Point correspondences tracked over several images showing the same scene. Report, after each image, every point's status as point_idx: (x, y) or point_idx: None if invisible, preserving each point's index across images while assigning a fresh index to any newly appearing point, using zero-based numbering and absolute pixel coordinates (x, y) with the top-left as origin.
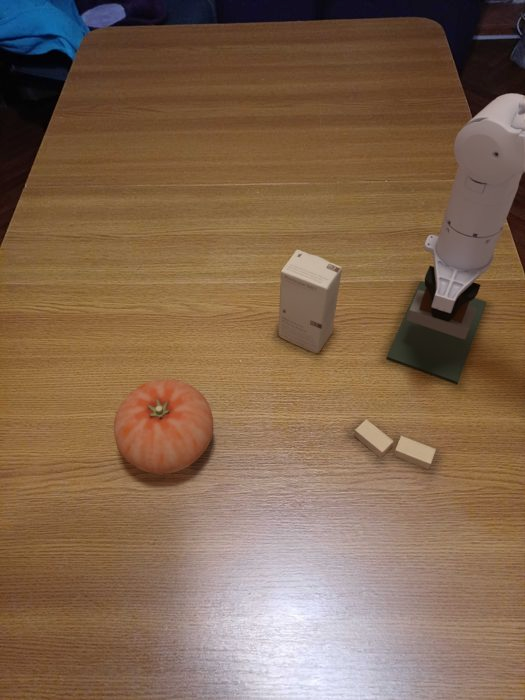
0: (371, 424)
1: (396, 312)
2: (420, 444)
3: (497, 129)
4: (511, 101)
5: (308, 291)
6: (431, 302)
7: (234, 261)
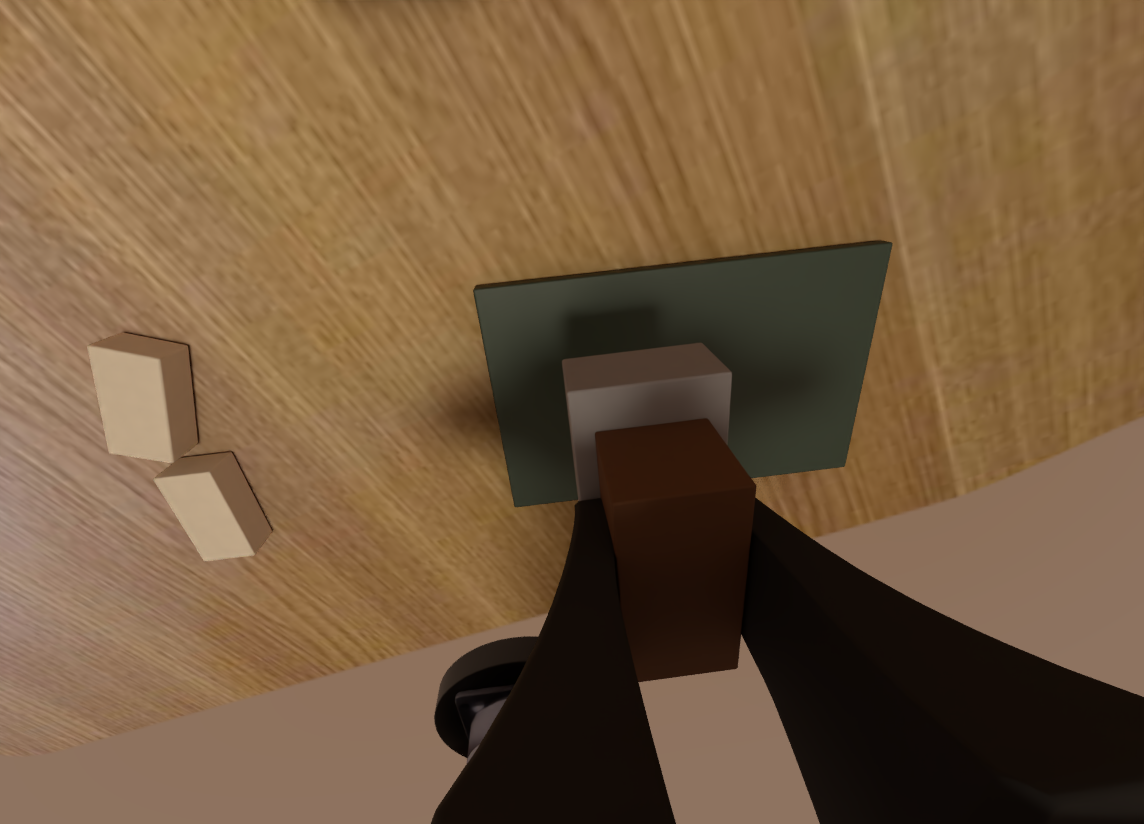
0: (156, 384)
1: (706, 220)
2: (232, 522)
3: None
4: None
5: None
6: (561, 579)
7: None
